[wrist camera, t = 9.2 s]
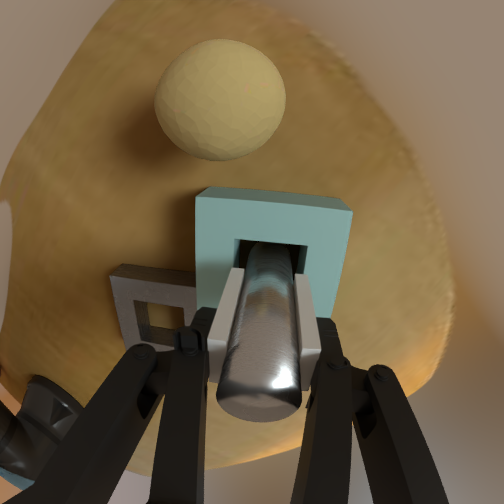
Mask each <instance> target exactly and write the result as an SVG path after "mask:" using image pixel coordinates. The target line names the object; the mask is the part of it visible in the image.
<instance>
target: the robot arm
mask: <svg viewBox="0 0 504 504" xmlns="http://www.w3.org/2000/svg"><path fill="white" fill-rule="evenodd" d="M243 281H244V269H241V268H231V271H230V274H229V277H228V280H227V282H226V285H225V288H224V291H223V294H222V297H221V300H220V303H219V306H218V308H210V307H201V308H200V309H199V310H197V311H196V313H195V315H194V317H193V320H192V322H191V324H190V326H184V327H181V328H178V329H177V330H175V331H174V333H173V335H172V336H173V344H174V349H173V350H170V351H158V352H156V350H155V348H154V347H153V346H151V345H149V344H146V343H139V344H135V345H133V346H131V347H130V348H129V349H128V350H127V351H126V353H125V354H124V355H123V357H122V358H121V359H120V361H119V362H118V363H117V365H116V366H115V367H114V368H113V370H112V371H111V372H110V374H109V375H108V377H107V378H106V379H105V381H104V382H103V383H102V385H101V386H100V387H99V389H98V390H97V391H96V393H95V394H94V396H93V397H92V398H91V400H90V401H89V402H88V404H87V405H86V407H85V408H83V407H82V406H81V405H80V404H79V403H78V402H77V401H76V400H75V399H74V398H73V397H71V396H70V395H69V394H68V393H67V392H65V391H64V390H63V389H62V388H60V387H59V386H58V385H56V384H55V383H53V382H51V381H50V380H48V379H46V378H44V377H42V376H38V375H35V376H33V377H32V379H31V380H30V381H29V383H28V385H27V391H26V393H25V396H24V399H23V402H22V406H21V409H20V411H19V412H18V413H17V415H16V416H14V415H13V413H12V412H11V411H10V410H9V409H8V408H7V407H6V406H5V405H4V404H3V403H2V402H1V400H0V476H2V477H3V478H4V479H5V480H7V481H8V482H10V483H11V484H13V485H14V486H16V487H18V488H19V489H21V490H23V491H22V492H20V493H19V494H17V495H15V496H14V497H12V498H11V499H9V500H7V501H6V502H4V503H2V504H107V503H108V501H109V499H110V497H111V496H112V493H113V491H114V490H115V488H116V486H117V484H118V482H119V480H120V478H121V476H122V474H123V472H124V470H125V468H126V466H127V464H128V462H129V460H130V459H131V457H132V455H133V453H134V451H135V449H136V447H137V445H138V443H139V441H140V439H141V437H142V435H143V434H144V432H145V430H146V428H147V426H148V424H149V422H150V420H151V418H152V416H153V414H154V413H155V411H156V409H157V407H158V405H159V403H160V401H161V399H162V397H163V396H164V394H165V398H164V403H163V409H162V414H161V420H160V426H159V432H158V438H157V444H156V451H155V457H154V464H153V471H152V479H151V487H150V495H149V500H148V502H147V503H146V504H204V459H205V431H206V408H207V390H208V389H207V382H208V378H209V382H214V383H219V379H220V375H221V371H222V366H223V362H224V359H225V356H226V353H227V349H228V345H229V340H230V336H231V332H232V327H233V323H234V319H235V315H236V310H237V306H238V302H239V298H240V293H241V289H242V285H243ZM293 287H294V298H295V310H296V322H297V335H298V348H299V362H300V373H301V390H302V391H308V390H309V387H310V385H311V394H310V396H309V399H308V402H307V405H306V407H305V408H307V415H306V421H305V428H304V434H303V440H302V446H301V452H300V458H299V463H298V469H297V474H296V479H295V483H294V488H293V493H292V498H291V502H290V504H348V495H349V482H350V468H351V448H352V422H353V425H354V428H355V432H356V435H357V440H358V443H359V447H360V450H361V454H362V458H363V462H364V465H365V470H366V474H367V478H368V482H369V486H370V490H371V494H372V498H373V503H374V504H449V502H448V499H447V496H446V493H445V491H444V487H443V485H442V482H441V479H440V476H439V474H438V471H437V469H436V466H435V463H434V461H433V458H432V455H431V453H430V451H429V448H428V446H427V443H426V441H425V438H424V436H423V434H422V431H421V429H420V427H419V424H418V422H417V420H416V418H415V415H414V413H413V411H412V409H411V407H410V405H409V402H408V400H407V398H406V396H405V394H404V392H403V389H402V387H401V385H400V383H399V381H398V379H397V377H396V375H395V373H394V372H393V370H392V369H390V368H389V367H387V366H385V365H378V364H377V365H373V366H371V367H370V368H369V370H368V371H367V370H363V369H359V368H356V367H353V366H351V364H350V361H349V360H348V359H347V358H346V357H344V356H343V352H342V348H341V344H340V340H339V337H338V332H337V329H336V325H335V323H334V322H333V321H332V320H331V319H330V318H323V317H316V316H315V310H314V305H313V299H312V294H311V289H310V284H309V279H308V275H305V274H295V278H294V284H293Z"/></svg>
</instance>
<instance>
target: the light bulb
mask: <svg viewBox="0 0 504 504" xmlns="http://www.w3.org/2000/svg"><path fill="white" fill-rule="evenodd" d="M285 102H286V93H285V89H284V84H283V80H282V78H281V76H280V74H279V72H278V70H277V68H276V67H275V66H274V64H273V63H272V62H271V61H270V60H269V59H268V58H267V57H266V56H265V55H264V54H262V53H261V52H260V51H258V50H256V49H255V48H253V47H251V46H249V45H246V44H244V43H242V42H238V41H234V40H227V39H215V40H208V41H205V42H201V43H198V44H196V45H194V46H192V47H190V48H189V49H187V50H185V51H184V52H183V53H181V54H180V55H179V56H178V57H177V58H176V59H175V60H173V61H172V62H171V64H170V65H169V66H168V67H167V69H166V70H165V72H164V73H163V75H162V77H161V78H160V80H159V83H158V85H157V88H156V92H155V100H154V106H155V112H156V116H157V119H158V121H159V124H160V126H161V128H162V129H163V131H164V133H165V134H166V135H167V136H168V138H169V139H170V140H171V141H172V142H173V143H174V144H175V145H176V146H177V147H179V148H180V149H182V150H183V151H185V152H186V153H188V154H190V155H193V156H195V157H197V158H201V159H206V160H210V161H226V160H231V159H236V158H239V157H242V156H244V155H247V154H249V153H251V152H253V151H254V150H256V149H258V148H259V147H260V146H262V145H263V144H264V143H265V142H266V141H267V140H268V139H269V138H270V137H271V136H272V134H273V133H274V132H275V130H276V129H277V127H278V125H279V123H280V122H281V119H282V116H283V114H284V109H285Z"/></svg>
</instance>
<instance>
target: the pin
mask: <svg viewBox="0 0 504 504" xmlns="http://www.w3.org/2000/svg"><path fill="white" fill-rule="evenodd" d="M216 399H217V402H218V403H219V405H220V406H221V408H222V409H223V410H225V411H226V412H227V413H229V414H230V415H232V416H234V417H237V418H239V419H242V420H246V421H251V422H272V421H277V420H281V419H284V418H286V417H289V416H290V415H292V414H293V413H295V412H296V411H297V410H298V408H299V407H300V405H301V402H302V390H301V373H300V362H299V348H298V335H297V322H296V310H295V298H294V287H293V275H292V265H291V256H290V252H289V250H288V249H287V247H286V246H285V245H284V244H282V243H275V242H265V241H260V242H258V243H257V244H255V245H254V246H253V248H252V249H251V251H250V253H249V257H248V261H247V266H246V270H245V274H244V281H243V285H242V289H241V293H240V298H239V302H238V306H237V310H236V315H235V319H234V323H233V327H232V332H231V336H230V340H229V345H228V349H227V353H226V356H225V359H224V362H223V366H222V371H221V375H220V379H219V383H218V388H217V392H216Z"/></svg>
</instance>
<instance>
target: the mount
mask: <svg viewBox="0 0 504 504" xmlns="http://www.w3.org/2000/svg"><path fill="white" fill-rule="evenodd" d="M110 281H111V286H112V292H113V297H114V301H115V306H116V311H117V315H118V320H119V324H120V328H121V332H122V336H123V340H124V344H125V347H126V351H127V350H128V349H129V348H130V347H131V346H133V345H135V344H139V343H146V344H149V345H151V346H153V347H154V348H155V350H156V352H158V351H170V350H173V349H174V344H173V336H172V335H173V333H174V331H175V330H171V329H165V328H159V327H154V326H150V323H149V317H148V311H147V304H146V302H150V303H156V304H162V305H169V306H175V307H182V308H184V320H185V326H190V324H191V322H192V320H193V317H194V315H195V313H196V311H197V294H196V273H195V272H187V271H178V270H169V269H161V268H153V267H145V266H137V265H129V264H121V265H120V266H119V267H118V268H117V269H116V270H115V271H114V272H113V273H112V274H111V275H110Z"/></svg>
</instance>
